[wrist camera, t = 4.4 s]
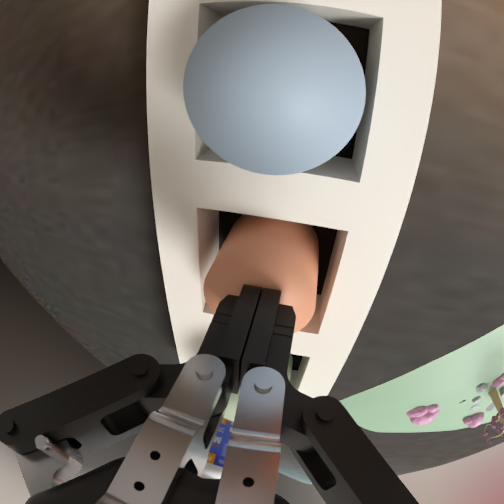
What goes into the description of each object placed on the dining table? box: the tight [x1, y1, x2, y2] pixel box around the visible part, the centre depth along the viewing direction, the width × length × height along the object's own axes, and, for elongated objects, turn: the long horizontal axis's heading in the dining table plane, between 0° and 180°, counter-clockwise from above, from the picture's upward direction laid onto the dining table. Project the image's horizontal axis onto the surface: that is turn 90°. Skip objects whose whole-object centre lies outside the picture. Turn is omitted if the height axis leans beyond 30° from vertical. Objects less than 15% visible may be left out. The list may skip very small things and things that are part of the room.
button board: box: [146, 0, 442, 398], centre depth 14 cm, size 10×26×3 cm, turn 177°
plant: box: [339, 325, 504, 444], centre depth 17 cm, size 25×21×9 cm
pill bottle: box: [201, 418, 234, 479], centre depth 26 cm, size 5×5×10 cm
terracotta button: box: [203, 214, 319, 333], centre depth 14 cm, size 5×5×4 cm
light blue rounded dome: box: [183, 4, 366, 175], centre depth 8 cm, size 5×5×4 cm
